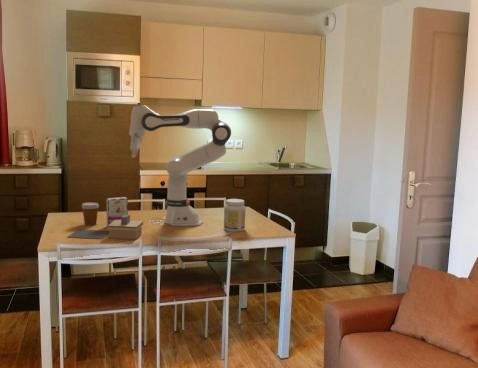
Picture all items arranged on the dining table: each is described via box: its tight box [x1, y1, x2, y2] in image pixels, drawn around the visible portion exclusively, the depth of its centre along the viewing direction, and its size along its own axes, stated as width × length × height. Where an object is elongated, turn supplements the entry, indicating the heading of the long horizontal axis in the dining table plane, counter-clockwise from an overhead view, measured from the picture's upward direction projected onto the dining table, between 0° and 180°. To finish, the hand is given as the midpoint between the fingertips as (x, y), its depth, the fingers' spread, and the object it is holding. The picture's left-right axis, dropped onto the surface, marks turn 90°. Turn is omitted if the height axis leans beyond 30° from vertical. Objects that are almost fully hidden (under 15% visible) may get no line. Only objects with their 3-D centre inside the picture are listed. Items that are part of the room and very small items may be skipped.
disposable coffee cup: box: [81, 201, 100, 227], centre depth 278 cm, size 10×10×12 cm
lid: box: [106, 214, 144, 231], centre depth 256 cm, size 15×13×6 cm
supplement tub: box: [223, 198, 247, 233], centre depth 277 cm, size 12×12×17 cm
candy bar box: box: [105, 196, 129, 226], centre depth 275 cm, size 11×5×16 cm, turn 117°
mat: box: [67, 228, 109, 240], centre depth 258 cm, size 18×16×1 cm
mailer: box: [108, 225, 143, 240], centre depth 257 cm, size 14×12×6 cm
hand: (134, 156), depth 284 cm, fingers open, 8 cm apart
